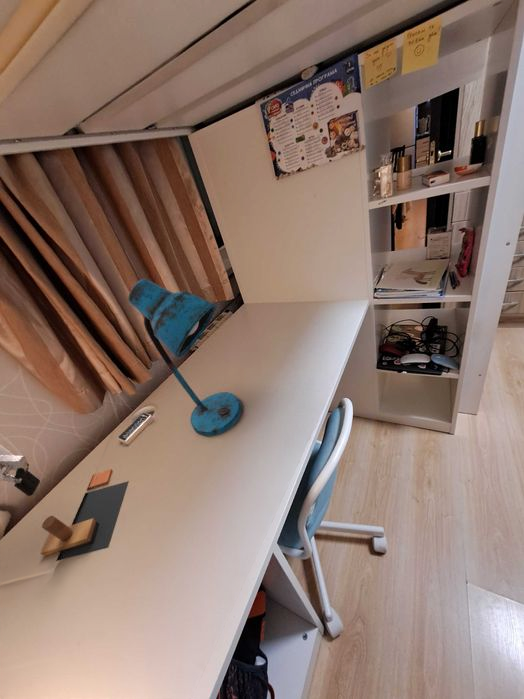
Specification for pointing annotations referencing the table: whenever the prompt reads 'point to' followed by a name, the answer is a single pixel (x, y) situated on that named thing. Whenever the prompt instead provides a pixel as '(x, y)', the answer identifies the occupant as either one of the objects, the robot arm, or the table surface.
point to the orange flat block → (92, 482)
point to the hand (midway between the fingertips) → (12, 494)
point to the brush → (67, 535)
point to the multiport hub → (135, 428)
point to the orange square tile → (103, 478)
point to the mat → (99, 516)
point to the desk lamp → (184, 346)
